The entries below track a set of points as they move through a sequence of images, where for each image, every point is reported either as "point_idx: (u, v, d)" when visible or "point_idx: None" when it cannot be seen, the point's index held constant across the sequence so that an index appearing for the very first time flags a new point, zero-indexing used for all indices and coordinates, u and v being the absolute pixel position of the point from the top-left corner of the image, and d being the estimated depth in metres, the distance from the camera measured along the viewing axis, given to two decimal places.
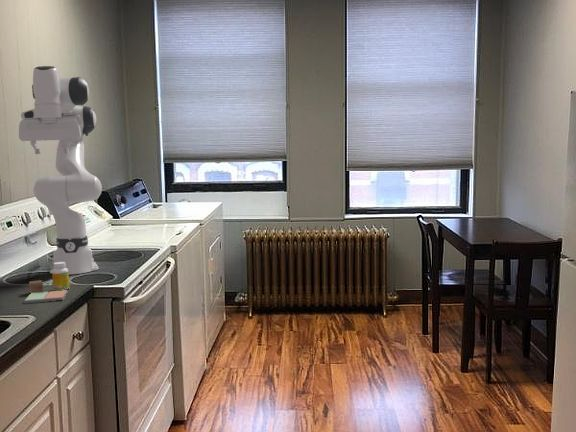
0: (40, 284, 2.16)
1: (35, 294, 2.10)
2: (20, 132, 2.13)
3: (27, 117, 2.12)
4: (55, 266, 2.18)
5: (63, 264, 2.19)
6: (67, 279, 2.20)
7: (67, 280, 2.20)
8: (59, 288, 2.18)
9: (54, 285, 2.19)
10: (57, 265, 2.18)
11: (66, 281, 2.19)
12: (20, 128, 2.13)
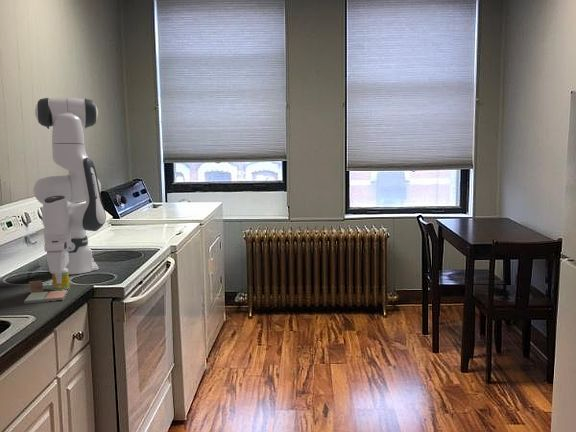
0: (40, 284, 2.16)
1: (35, 294, 2.10)
2: (61, 264, 2.11)
3: (65, 248, 2.14)
4: None
5: None
6: (67, 279, 2.20)
7: (67, 280, 2.20)
8: (59, 288, 2.18)
9: (54, 285, 2.19)
10: None
11: (66, 281, 2.19)
12: (61, 260, 2.11)
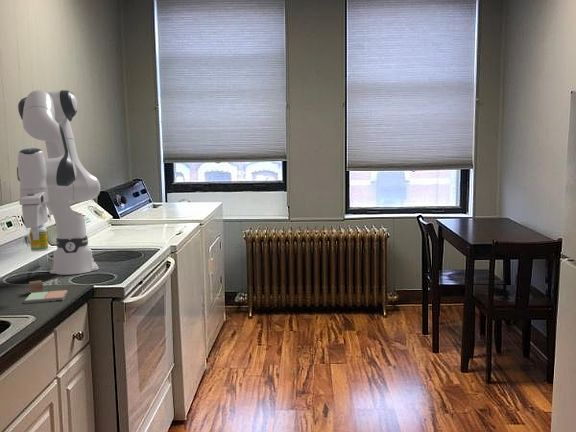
0: (40, 284, 2.16)
1: (35, 294, 2.10)
2: (37, 218, 2.00)
3: (41, 202, 2.02)
4: None
5: None
6: (45, 239, 2.09)
7: (45, 240, 2.09)
8: (37, 248, 2.07)
9: (32, 245, 2.07)
10: None
11: (44, 241, 2.08)
12: (37, 214, 2.00)
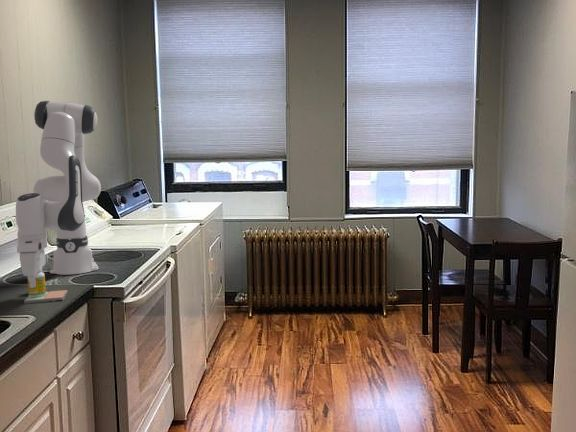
0: None
1: None
2: (35, 266, 1.99)
3: (39, 249, 2.01)
4: None
5: None
6: (43, 284, 2.08)
7: (43, 285, 2.08)
8: (35, 294, 2.06)
9: (29, 290, 2.06)
10: None
11: (42, 286, 2.07)
12: (35, 262, 1.99)
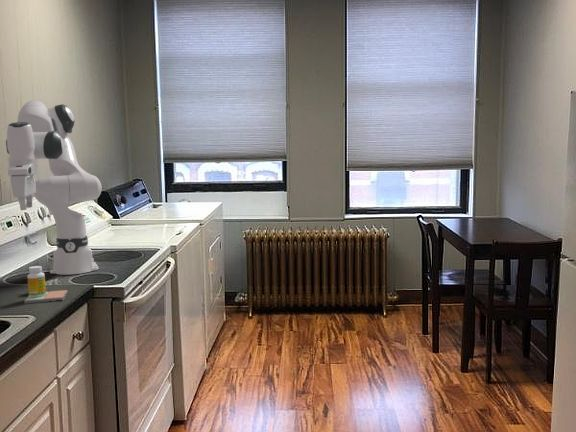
0: None
1: None
2: (25, 188, 2.09)
3: (29, 173, 2.11)
4: (30, 270, 2.06)
5: (39, 268, 2.07)
6: (43, 284, 2.08)
7: (43, 285, 2.08)
8: (35, 294, 2.06)
9: (29, 291, 2.06)
10: (32, 269, 2.06)
11: (42, 286, 2.07)
12: (25, 184, 2.09)
